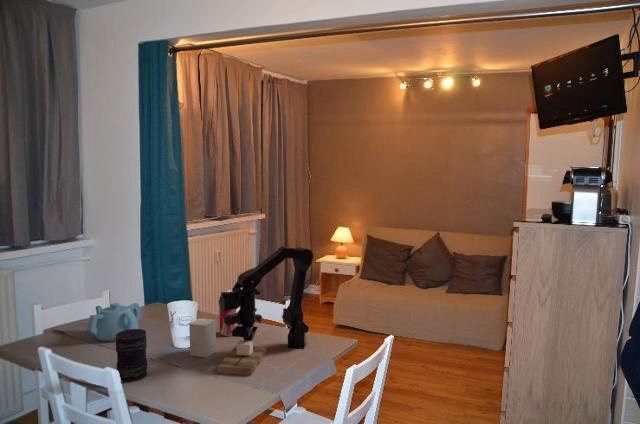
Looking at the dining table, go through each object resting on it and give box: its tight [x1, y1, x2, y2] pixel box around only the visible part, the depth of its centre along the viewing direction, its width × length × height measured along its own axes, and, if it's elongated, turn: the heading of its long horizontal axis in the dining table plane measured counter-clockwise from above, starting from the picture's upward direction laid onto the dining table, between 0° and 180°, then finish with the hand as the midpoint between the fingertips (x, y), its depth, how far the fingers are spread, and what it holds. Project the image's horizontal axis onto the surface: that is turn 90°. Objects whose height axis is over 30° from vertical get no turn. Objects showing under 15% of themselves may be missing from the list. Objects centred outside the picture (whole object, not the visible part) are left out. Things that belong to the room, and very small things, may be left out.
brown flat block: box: [217, 345, 268, 376], centre depth 178 cm, size 20×12×3 cm, turn 171°
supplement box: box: [188, 318, 217, 359], centre depth 187 cm, size 7×7×13 cm
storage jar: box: [115, 328, 148, 383], centre depth 166 cm, size 10×10×15 cm
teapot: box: [86, 302, 143, 342], centre depth 206 cm, size 19×19×14 cm
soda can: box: [218, 307, 238, 337], centre depth 208 cm, size 7×7×13 cm
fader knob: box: [235, 339, 254, 356], centre depth 180 cm, size 4×5×4 cm
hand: (248, 347), depth 184 cm, fingers closed
